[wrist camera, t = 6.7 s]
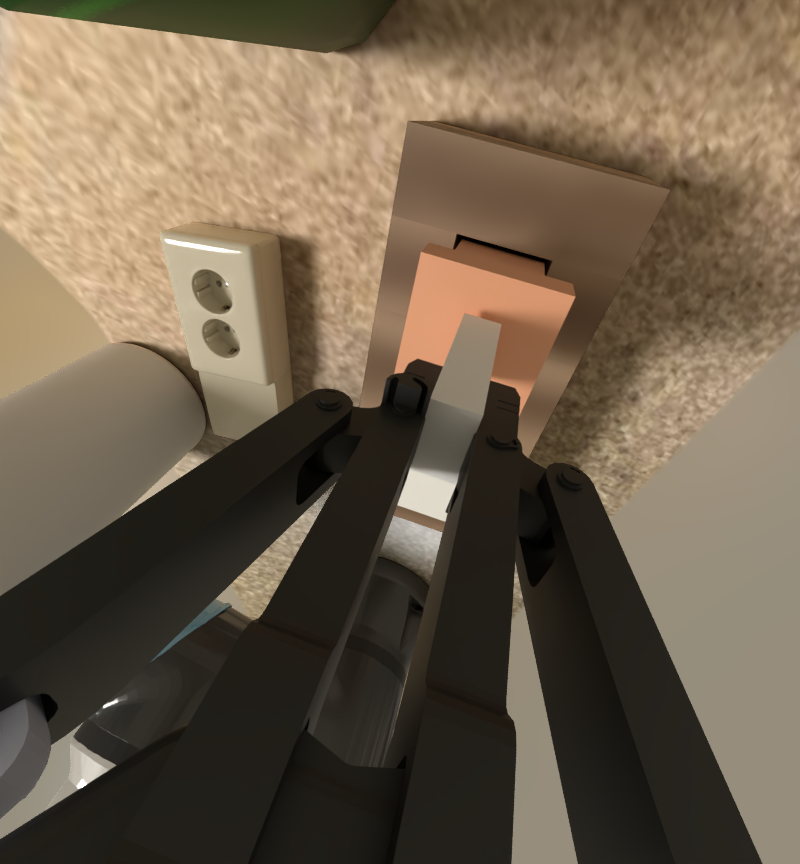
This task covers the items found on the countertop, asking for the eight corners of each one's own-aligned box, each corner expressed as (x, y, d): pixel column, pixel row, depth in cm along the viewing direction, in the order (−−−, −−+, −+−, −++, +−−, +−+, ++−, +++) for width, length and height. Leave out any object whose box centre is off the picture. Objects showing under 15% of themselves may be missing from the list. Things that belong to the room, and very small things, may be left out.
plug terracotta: (521, 355, 25) (516, 422, 19) (424, 325, 25) (392, 382, 20) (566, 251, 21) (575, 296, 16) (451, 218, 22) (420, 251, 16)
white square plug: (467, 463, 37) (454, 524, 31) (401, 442, 37) (377, 498, 32) (490, 408, 33) (479, 466, 27) (416, 385, 33) (391, 437, 28)
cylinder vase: (220, 456, 46) (-14, 701, 27) (122, 433, 48) (-160, 645, 29) (192, 351, 39) (-163, 587, 19) (78, 330, 41) (-346, 522, 21)
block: (488, 495, 39) (481, 545, 34) (366, 454, 40) (343, 497, 36) (644, 176, 23) (670, 189, 18) (433, 121, 24) (407, 120, 19)
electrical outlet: (207, 439, 39) (154, 231, 29) (232, 416, 43) (193, 220, 32) (277, 457, 38) (251, 247, 27) (298, 432, 41) (281, 234, 31)
